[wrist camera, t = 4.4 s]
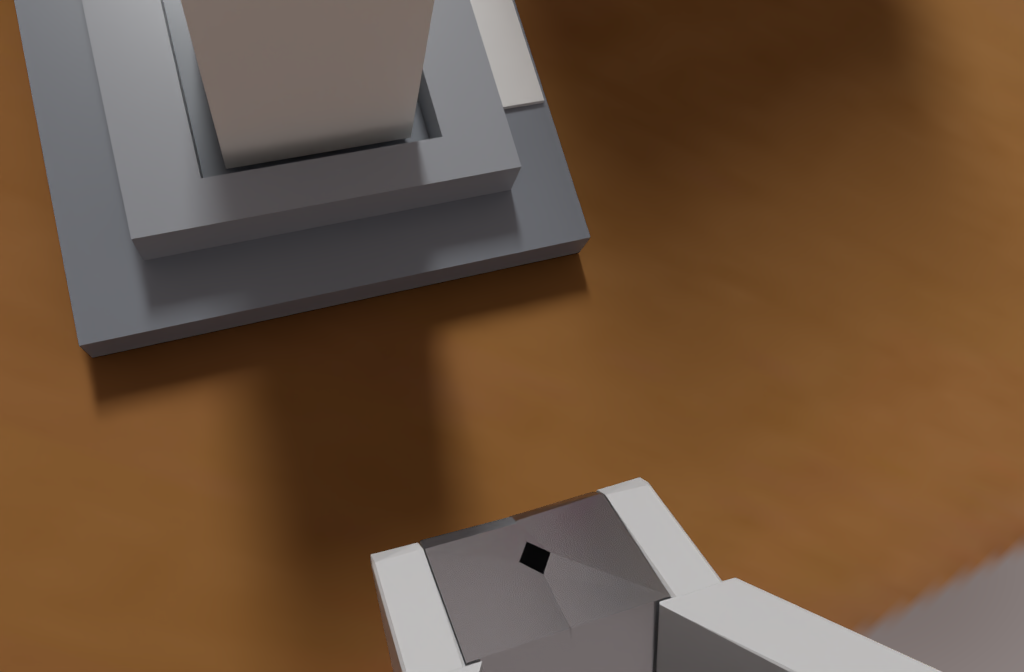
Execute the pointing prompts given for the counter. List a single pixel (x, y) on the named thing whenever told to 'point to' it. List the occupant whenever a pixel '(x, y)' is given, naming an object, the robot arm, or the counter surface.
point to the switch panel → (280, 178)
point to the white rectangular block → (308, 73)
